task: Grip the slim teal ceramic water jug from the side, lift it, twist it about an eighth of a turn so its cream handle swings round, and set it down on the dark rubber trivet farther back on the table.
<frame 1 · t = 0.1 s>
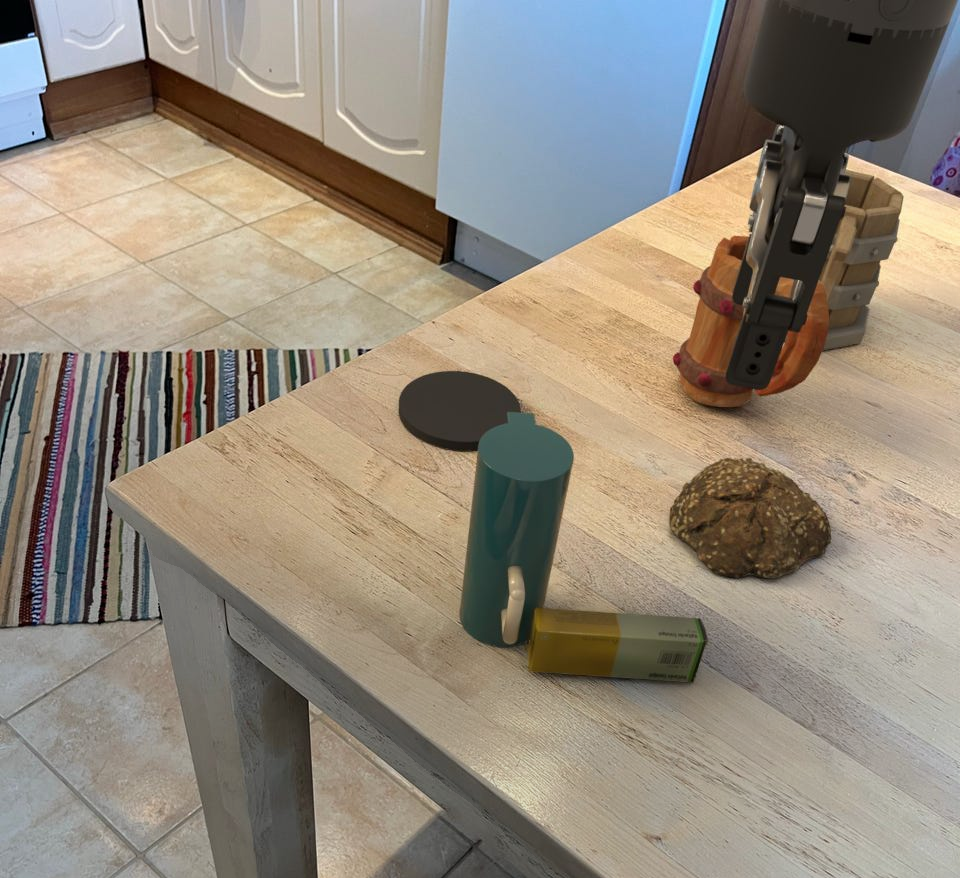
hand: (747, 341, 53), 25 cm above the table, tool pointing down, fingers open, 8 cm apart
mug: (726, 409, 94), on the table
trivet: (459, 414, 89), on the table
jug: (500, 616, 72), on the table
medication box: (609, 667, 70), on the table
bread roll: (740, 532, 81), on the table
tankard: (798, 335, 105), on the table
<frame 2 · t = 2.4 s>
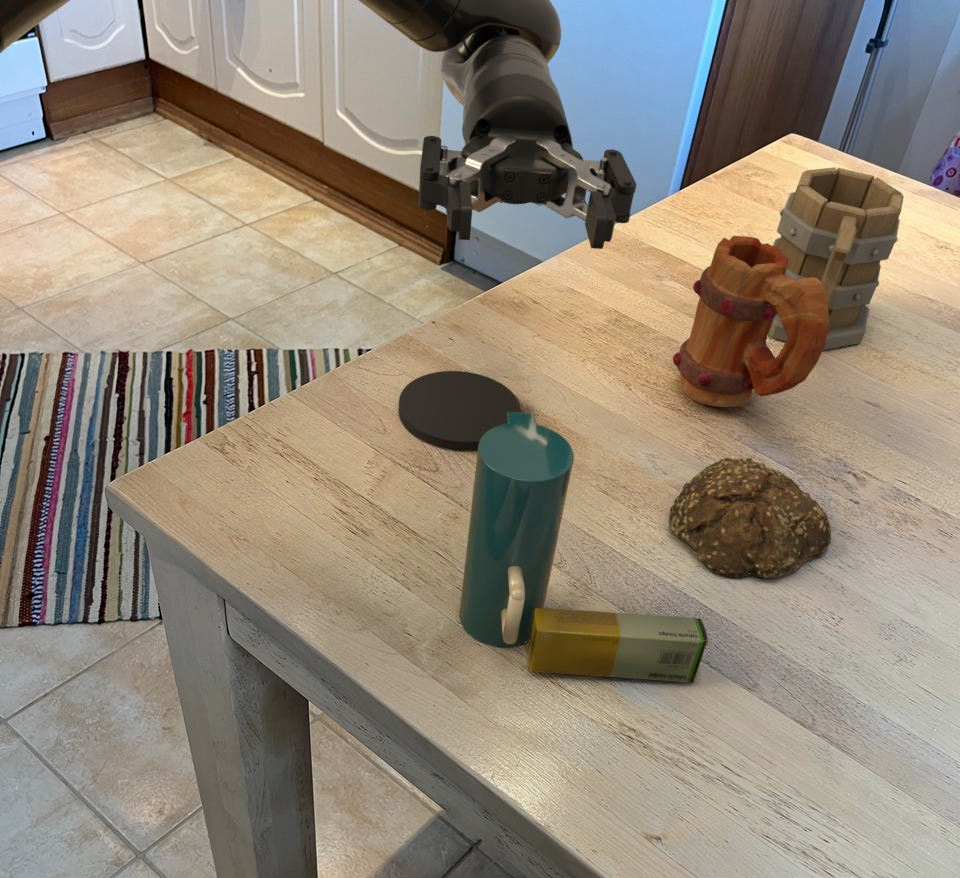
hand: (533, 230, 61), 24 cm above the table, tool horizontal, fingers open, 8 cm apart
nothing on the table moved.
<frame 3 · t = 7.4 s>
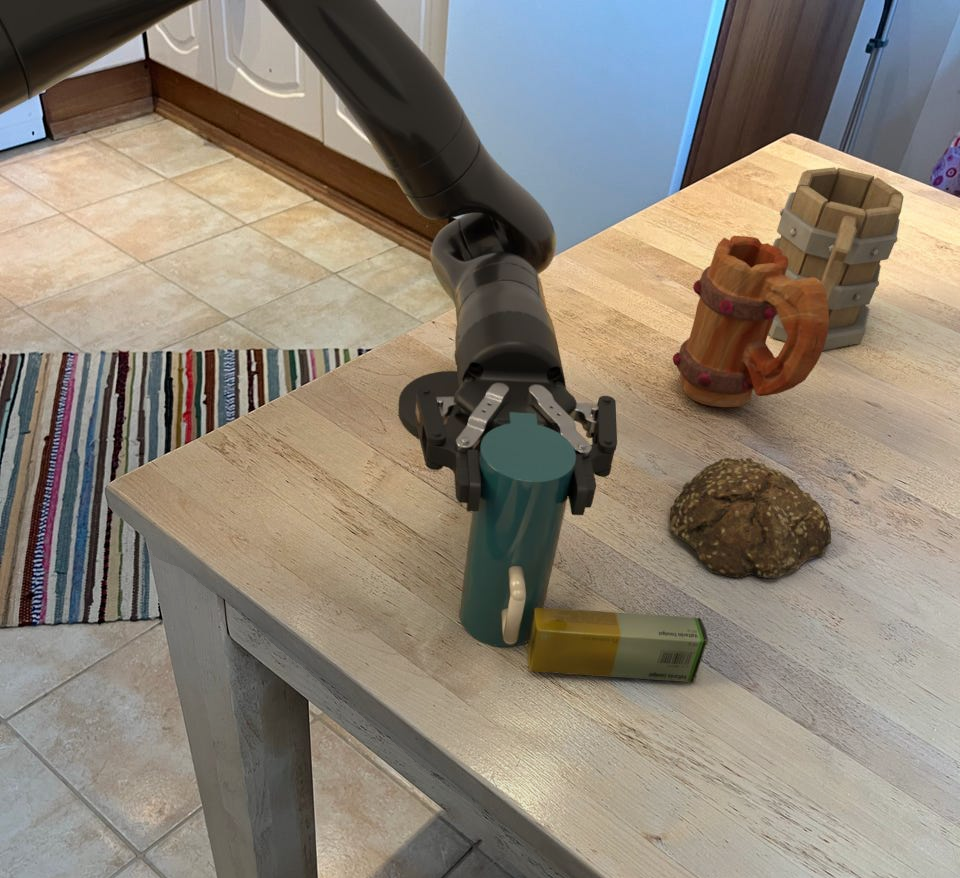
hand: (528, 502, 61), 13 cm above the table, tool horizontal, fingers closed on jug, 6 cm apart
jug: (500, 616, 72), on the table, touching gripper
everything else where it was.
when the fingers open (14 cm above the table, at t = 16.8 s): jug stays where it is, resting on trivet.
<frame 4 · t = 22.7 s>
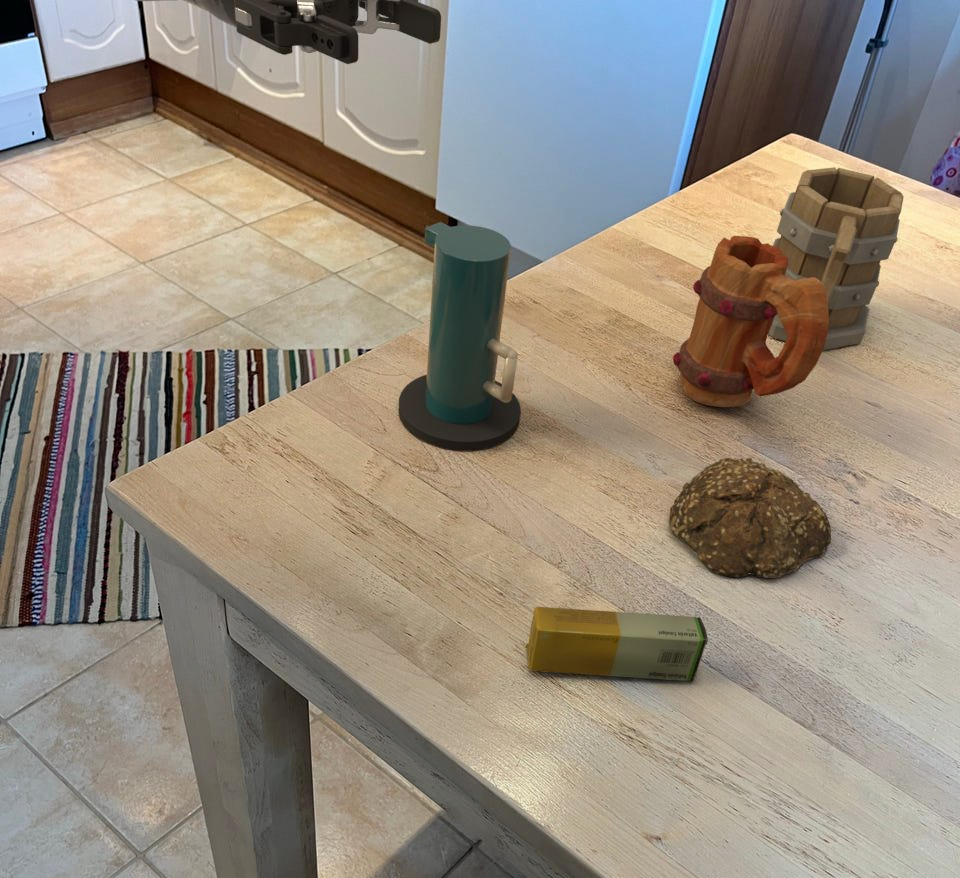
hand: (397, 37, 72), 28 cm above the table, tool horizontal, fingers open, 8 cm apart
jug: (458, 404, 88), point 1 cm above the table, touching trivet
everything else where it was.
at the end: jug 0.2 cm off-centre on the trivet, point 1.0 cm above the trivet's base; jug tilted 0°; the gripper is holding nothing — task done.
